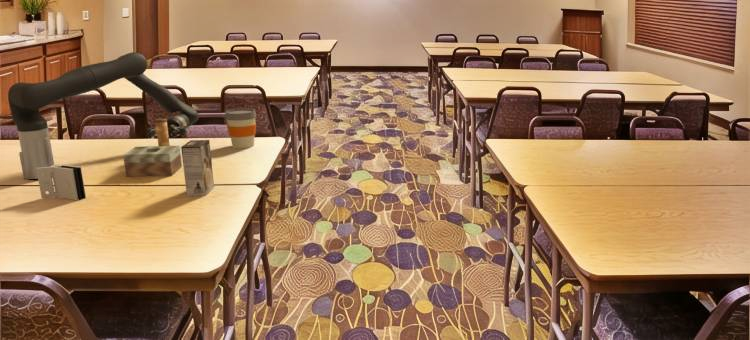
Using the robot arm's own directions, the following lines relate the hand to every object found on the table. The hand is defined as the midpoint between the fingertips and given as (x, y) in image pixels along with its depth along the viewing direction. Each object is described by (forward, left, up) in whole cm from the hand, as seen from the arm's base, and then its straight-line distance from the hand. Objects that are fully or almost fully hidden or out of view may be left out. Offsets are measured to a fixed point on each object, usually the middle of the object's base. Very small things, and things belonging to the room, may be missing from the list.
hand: (161, 135), depth 218 cm
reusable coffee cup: (+25, +26, -11) cm, 38 cm away
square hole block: (0, -11, -11) cm, 16 cm away
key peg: (0, +2, -11) cm, 11 cm away
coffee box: (+23, -36, -11) cm, 44 cm away
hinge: (-19, -39, -11) cm, 45 cm away
